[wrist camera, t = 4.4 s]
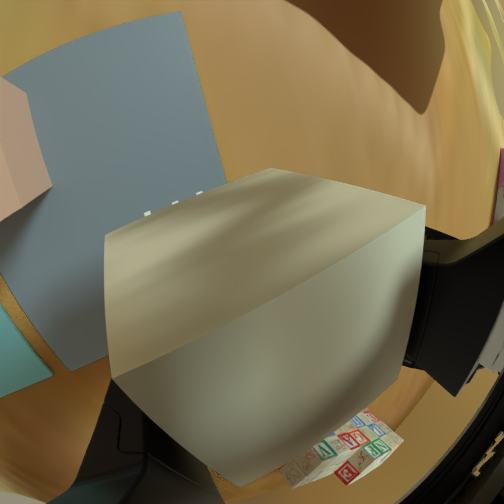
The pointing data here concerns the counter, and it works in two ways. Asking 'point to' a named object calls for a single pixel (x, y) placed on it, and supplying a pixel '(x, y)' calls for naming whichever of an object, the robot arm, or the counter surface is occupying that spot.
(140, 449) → the robot arm
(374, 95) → the counter surface
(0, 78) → the terracotta block
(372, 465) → the stack of blocks
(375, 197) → the maple block
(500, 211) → the gum box
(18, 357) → the teal pad
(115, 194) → the card
